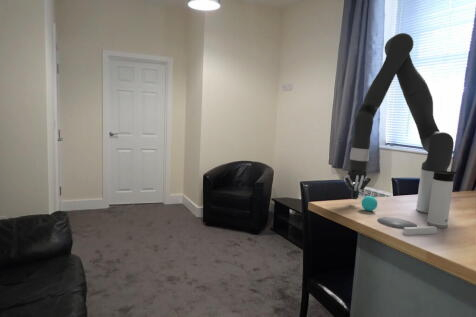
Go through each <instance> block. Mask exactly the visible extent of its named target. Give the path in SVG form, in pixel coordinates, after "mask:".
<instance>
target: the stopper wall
mask: <svg viewBox="0 0 476 317" xmlns="http://www.w3.org/2000/svg"><path fill="white" fill-rule="evenodd" d="M402 230H403V231H402V233H403V234H404V235H406V236H410V235H433V234H434V235H435V234H437V231H438V228H437V227H434V226H430V225H427V226H417V227H404V229H402Z"/></svg>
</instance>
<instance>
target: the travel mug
mask: <svg viewBox="0 0 476 317" xmlns="http://www.w3.org/2000/svg"><path fill="white" fill-rule="evenodd" d="M456 173H457V172H456V171H453V170H452V171H451V170H450V171H449V170H447V171H437V172H434V177H433V182H432V190H431V197H430V205H429V212H428V213H427V221H426V224H427V226H434V227H437V229H446V228H447V227H448V222H449V217H450V209H451V202H452V193H453V190H454V189H453V186H454V179H455V175H456Z"/></svg>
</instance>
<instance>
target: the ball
mask: <svg viewBox="0 0 476 317" xmlns="http://www.w3.org/2000/svg"><path fill="white" fill-rule="evenodd" d="M377 200H378V199H376V197H374V196H373V195H367V196H364V197H363V198H362V200H361V207H362V208H363V209H364V210H365V211H367V212H372V211H375V210H376V209H377V207H378V201H377Z"/></svg>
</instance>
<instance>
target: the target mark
mask: <svg viewBox="0 0 476 317" xmlns="http://www.w3.org/2000/svg"><path fill="white" fill-rule="evenodd" d="M377 222H378V223H379V224H381V225H383V226H387V227H389V228H390V227H391V228H395V229H399V230H400V229H401V230H404V227H418V225H417V224H416V223H415V222H412V221H410V220H407V219H403V218H398V217H391V216H389V217H387V216H386V217H383V216H382V217H379V218H377Z"/></svg>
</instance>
